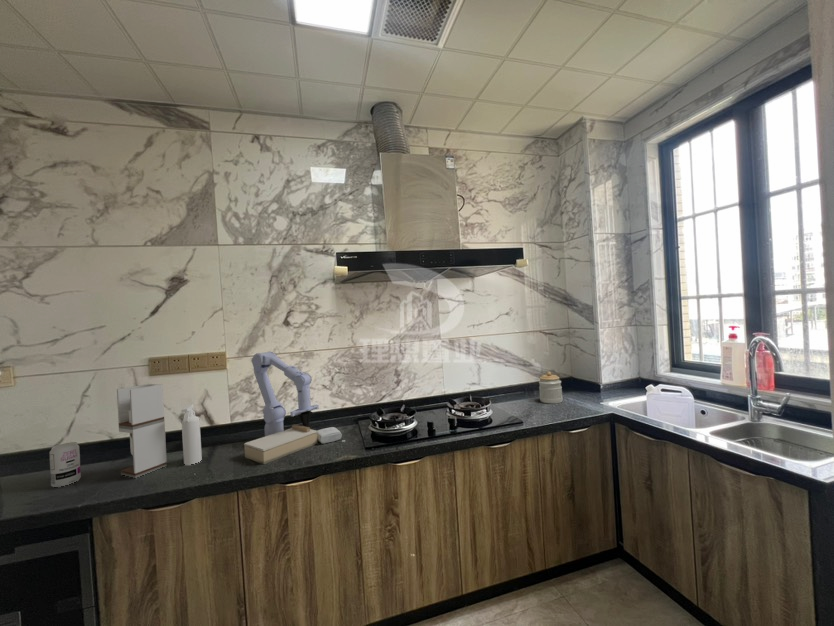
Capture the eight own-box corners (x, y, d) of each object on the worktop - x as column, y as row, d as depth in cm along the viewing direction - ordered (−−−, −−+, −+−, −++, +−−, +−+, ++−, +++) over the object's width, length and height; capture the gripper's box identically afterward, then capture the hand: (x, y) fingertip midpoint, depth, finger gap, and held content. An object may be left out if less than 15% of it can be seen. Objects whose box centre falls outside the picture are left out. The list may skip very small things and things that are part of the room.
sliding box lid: (244, 445, 151) (244, 439, 151) (296, 427, 171) (296, 422, 171) (263, 451, 141) (263, 444, 141) (316, 432, 162) (316, 426, 162)
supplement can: (64, 479, 140) (62, 442, 140) (86, 477, 140) (84, 440, 141) (44, 489, 132) (42, 450, 132) (68, 487, 132) (66, 447, 133)
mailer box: (245, 457, 150) (244, 445, 151) (297, 438, 171) (296, 428, 171) (264, 464, 141) (263, 452, 141) (317, 443, 161) (316, 432, 162)
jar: (542, 404, 202) (539, 374, 202) (538, 399, 215) (535, 370, 215) (565, 403, 200) (563, 373, 200) (560, 398, 213) (557, 369, 213)
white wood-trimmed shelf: (152, 464, 150) (148, 383, 151) (166, 466, 146) (162, 384, 147) (121, 475, 140) (116, 389, 141) (135, 478, 136) (130, 389, 137)
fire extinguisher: (208, 454, 157) (202, 400, 156) (197, 466, 145) (191, 407, 144) (191, 457, 155) (186, 402, 155) (179, 469, 143) (173, 409, 143)
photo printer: (342, 439, 164) (334, 433, 175) (341, 430, 164) (334, 425, 175) (320, 445, 159) (314, 438, 170) (320, 435, 159) (313, 429, 170)
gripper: (295, 403, 158) (297, 433, 158) (321, 396, 170) (323, 424, 170) (287, 402, 163) (288, 431, 162) (312, 395, 174) (314, 422, 174)
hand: (306, 427), depth 166 cm, fingers closed
